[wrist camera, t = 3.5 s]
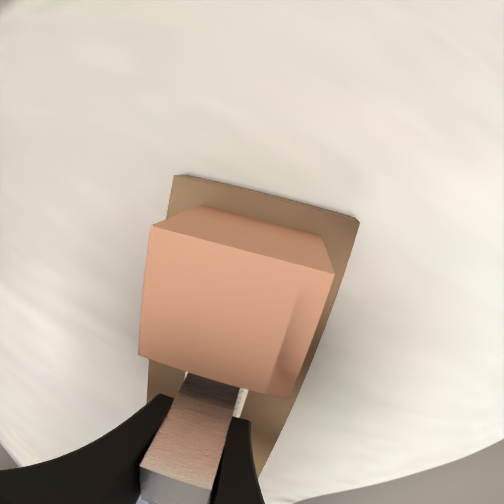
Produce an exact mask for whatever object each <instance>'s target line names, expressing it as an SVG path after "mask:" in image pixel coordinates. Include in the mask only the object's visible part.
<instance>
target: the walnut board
mask: <svg viewBox="0 0 504 504" xmlns="http://www.w3.org/2000/svg"><path fill="white" fill-rule="evenodd" d="M199 205H201V206H205V207H209V208H213V209H217V210H221V211H226V212H230V213H234V214H238V215H242V216H246V217H250V218H253V219H257V220H261V221H265V222H269V223H273V224H277V225H281V226H284V227H288V228H292V229H296V230H300V231H303V232H307V233H311V234H315V235H318V236H321V237H322V240H323V242H324V245H325V248H326V251H327V253H328V256H329V259H330V262H331V265H332V267H333V270H334V273H335V275H334V279H333V282H332V285H331V288H330V291H329V293H328V296H327V299H326V302H325V305H324V308H323V311H322V314H321V316H320V319H319V322H318V325H317V327H316V330H315V333H314V336H313V338H312V341H311V344H310V346H309V349H308V351H307V354H306V357H305V359H304V362H303V364H302V367H301V369H300V372H299V374H298V377H297V379H296V382H295V384H294V387H293V389H292V391H291V394H290V396H289V399H285V398H280V397H276V396H271V395H267V394H263V393H259V392H255V391H251V390H249V391H248V394H247V397H246V400H245V403H244V406H243V409H242V412H241V416H240V418H242V419H246V420H249V421H250V422H251V444H252V452H253V459H254V464H255V469H256V474H257V478H258V477H259V475H260V473H261V471H262V469H263V467H264V465H265V463H266V461H267V459H268V457H269V455H270V453H271V451H272V449H273V447H274V445H275V443H276V441H277V439H278V437H279V435H280V432H281V430H282V428H283V426H284V424H285V422H286V420H287V417H288V415H289V413H290V411H291V409H292V406H293V404H294V402H295V400H296V397H297V395H298V393H299V390H300V388H301V386H302V383H303V381H304V379H305V376H306V374H307V372H308V369H309V367H310V364H311V362H312V359H313V357H314V354H315V352H316V349H317V347H318V344H319V342H320V339H321V336H322V334H323V331H324V329H325V326H326V323H327V320H328V318H329V315H330V312H331V310H332V307H333V304H334V301H335V298H336V295H337V293H338V290H339V287H340V284H341V281H342V278H343V275H344V272H345V269H346V266H347V263H348V260H349V257H350V253H351V250H352V247H353V244H354V241H355V237H356V234H357V231H358V227H359V224H360V222H359V221H358V220H357V219H356V218H354V217H351V216H347V215H344V214H340V213H337V212H333V211H330V210H326V209H322V208H319V207H315V206H311V205H308V204H304V203H300V202H297V201H293V200H289V199H285V198H281V197H277V196H273V195H269V194H265V193H261V192H257V191H253V190H249V189H245V188H241V187H236V186H232V185H228V184H224V183H219V182H215V181H210V180H206V179H201V178H197V177H192V176H187V175H174V179H173V184H172V189H171V194H170V200H169V205H168V211H167V217H166V219H168V218H170V217H173V216H175V215H178V214H180V213H182V212H185V211H187V210H190V209H192V208H194V207H197V206H199ZM185 373H186V371H183V370H180V369H177V368H174V367H171V366H168V365H165V364H162V363H159V362H157V361H154V360H151V359H149V372H148V390H147V403H148V402H149V401H150V400H152V399H153V398H154V397H155V396H156V395H157V394H159V393H161V394H164V395H166V396H169V397H172V398H175V397H176V395H177V393H178V391H179V389H180V388H181V386H182V384H183V382H184V379H185Z"/></svg>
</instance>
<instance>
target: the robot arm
mask: <svg viewBox="0 0 504 504" xmlns="http://www.w3.org/2000/svg"><path fill="white" fill-rule="evenodd" d="M174 399H175V398H172V397H169V396H166V395H164V394H161V393H159V394H157V395H156V396H155V397H154V398H153V399H152V400H150V401H149V402H148V403H147V404H146V405H145V406H144V407H143V408H141V409H140V410H139V411H138V412H136V413H135V414H134V415H133V416H131V417H130V418H129V419H127V420H126V421H125V422H123V423H122V424H121V425H119V426H118V427H116V428H115V429H113V430H112V431H110V432H108V433H107V434H105V435H104V436H102V437H101V438H99V439H97V440H95V441H94V442H92V443H90V444H88V445H86V446H84V447H82V448H80V449H78V450H75V451H73V452H71V453H68V454H66V455H63V456H61V457H58V458H55V459H52V460H49V461H45V462H42V463H38V464H34V465H31V466H26V467H21V468H14V469H7V470H0V504H149V503H148V502H146V501H143V500H141V487H140V469H139V466H140V464H141V462H142V460H143V458H144V456H145V454H146V452H147V451H148V449H149V447H150V445H151V443H152V441H153V439H154V437H155V435H156V433H157V431H158V430H159V428H160V426H161V424H162V422H163V420H164V418H165V417H166V416H167V414H168V412H169V410H170V408H171V406H172V404H173V401H174ZM209 504H265V503H264V500H263V497H262V493H261V490H260V486H259V483H258V478H257V474H256V469H255V464H254V459H253V452H252V444H251V422H250V421H249V420H246V419H242V418H238V417H234V416H232V419H231V421H230V424H229V428H228V431H227V435H226V440H225V444H224V447H223V451H222V454H221V458H220V461H219V465H218V468H217V472H216V475H215V479H214V482H213V485H212V490H211V496H210V501H209Z"/></svg>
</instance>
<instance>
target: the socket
mask: <svg viewBox="0 0 504 504" xmlns="http://www.w3.org/2000/svg"><path fill="white" fill-rule="evenodd" d="M334 275H335V273H334V270H333V267H332V265H331V262H330V259H329V256H328V253H327V251H326V248H325V245H324V242H323V240H322V237H321V236H318V235H315V234H311V233H307V232H303V231H300V230H296V229H292V228H288V227H284V226H281V225H277V224H273V223H269V222H265V221H261V220H257V219H253V218H250V217H246V216H242V215H238V214H234V213H230V212H226V211H221V210H217V209H213V208H209V207H205V206H201V205H199V206H197V207H194V208H192V209H190V210H187V211H185V212H182V213H180V214H178V215H175V216H173V217H170V218H168V219H166V220H163V221H161V222H159V223H156V224H154V225H152V226H151V229H150V236H149V243H148V251H147V259H146V267H145V276H144V285H143V295H142V306H141V318H140V332H139V349H138V355H140V356H143V357H146V358H148V359H151V360H154V361H157V362H159V363H162V364H165V365H168V366H171V367H174V368H177V369H180V370H183V371H186V372H189V373H192V374H195V375H198V376H201V377H205V378H208V379H211V380H215V381H218V382H222V383H225V384H229V385H232V386H236V387H240V388H243V389H247V390H251V391H255V392H259V393H263V394H267V395H271V396H276V397H280V398H285V399H289V396H290V394H291V391H292V389H293V387H294V384H295V382H296V379H297V377H298V374H299V372H300V369H301V367H302V364H303V362H304V359H305V357H306V354H307V351H308V349H309V346H310V344H311V341H312V338H313V336H314V333H315V330H316V327H317V325H318V322H319V319H320V316H321V314H322V311H323V308H324V305H325V302H326V299H327V296H328V293H329V291H330V288H331V285H332V282H333V279H334Z"/></svg>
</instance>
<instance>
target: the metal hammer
mask: <svg viewBox="0 0 504 504" xmlns="http://www.w3.org/2000/svg"><path fill="white" fill-rule="evenodd" d="M248 391H249V390H247V389H243V388H240V387H236V386H232V385H229V384H225V383H222V382H218V381H215V380H211V379H208V378H205V377H201V376H198V375H195V374H192V373H189V372H186V373H185V379H184V382H183V384H182V386H181V388H180V389H179V391H178V393H177V395H176V397H175V399H174V401H173V404H172V406H171V408H170V410H169V412H168V414H167V416H166V417H165V418H164V420H163V422H162V424H161V426H160V428H159V430H158V431H157V433H156V435H155V437H154V439H153V441H152V443H151V445H150V447H149V449H148V451H147V452H146V454H145V456H144V458H143V460H142V462H141V464H140V466H139V469H140V487H141V500H143V501H146V502H148V503H151V504H207V501H208V498H209V497H210V496H211V490H212V485H213V482H214V479H215V475H216V472H217V468H218V465H219V461H220V458H221V454H222V451H223V447H224V444H225V440H226V435H227V431H228V428H229V424H230V421H231V419H232V416H234V417H238V418H240V416H241V412H242V409H243V406H244V403H245V400H246V397H247V394H248Z"/></svg>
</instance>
